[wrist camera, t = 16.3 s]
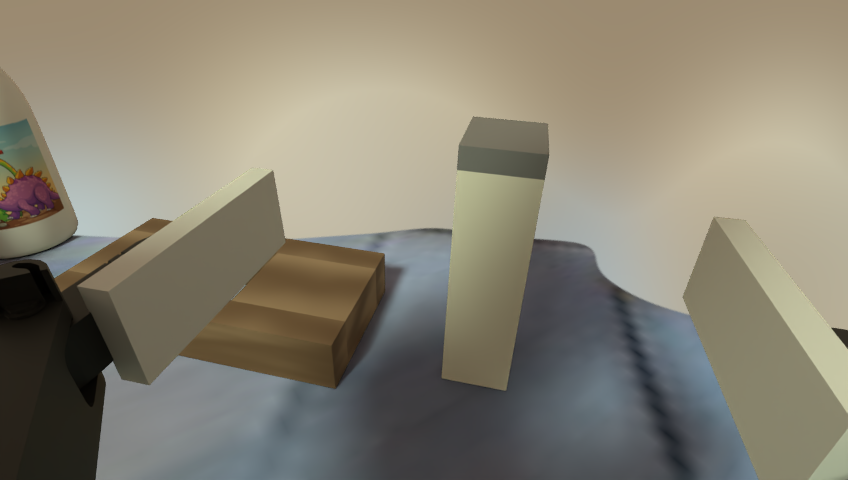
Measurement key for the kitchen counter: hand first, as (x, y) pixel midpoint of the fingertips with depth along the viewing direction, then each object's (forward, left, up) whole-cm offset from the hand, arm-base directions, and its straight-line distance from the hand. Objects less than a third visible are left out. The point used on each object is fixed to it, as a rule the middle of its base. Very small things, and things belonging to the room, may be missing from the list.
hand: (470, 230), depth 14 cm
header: (+17, +10, -15) cm, 25 cm away
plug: (+8, -5, -15) cm, 18 cm away
